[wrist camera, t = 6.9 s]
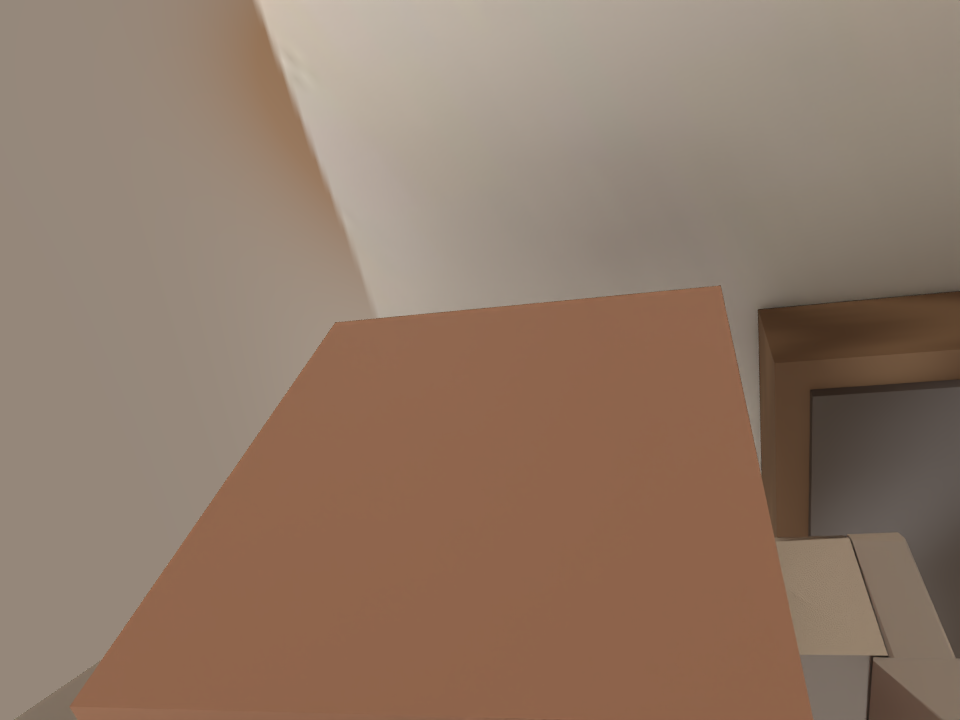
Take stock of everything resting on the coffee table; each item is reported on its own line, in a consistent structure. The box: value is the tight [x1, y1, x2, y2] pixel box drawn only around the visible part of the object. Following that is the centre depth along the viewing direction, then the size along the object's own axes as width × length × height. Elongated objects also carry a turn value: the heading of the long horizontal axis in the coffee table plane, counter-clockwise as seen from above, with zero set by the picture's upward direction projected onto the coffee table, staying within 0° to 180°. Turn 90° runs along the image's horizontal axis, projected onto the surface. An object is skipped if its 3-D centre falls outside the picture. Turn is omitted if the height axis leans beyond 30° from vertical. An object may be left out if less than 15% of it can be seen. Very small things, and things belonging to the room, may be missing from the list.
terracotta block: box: [69, 286, 813, 720], centre depth 9 cm, size 5×5×6 cm
